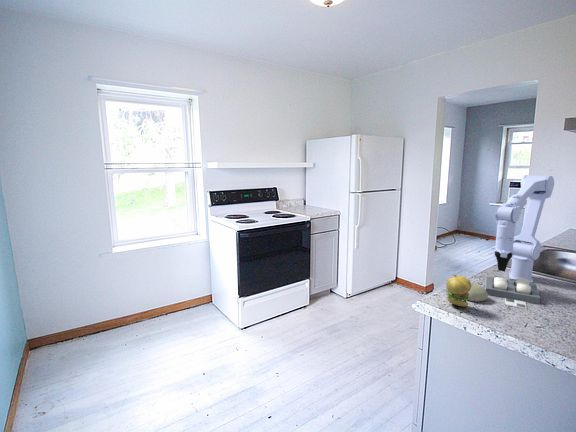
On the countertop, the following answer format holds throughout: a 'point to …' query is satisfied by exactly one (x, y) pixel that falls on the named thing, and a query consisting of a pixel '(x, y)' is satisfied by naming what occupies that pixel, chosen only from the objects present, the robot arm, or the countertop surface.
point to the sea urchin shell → (477, 293)
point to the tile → (515, 303)
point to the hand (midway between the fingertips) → (501, 270)
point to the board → (513, 291)
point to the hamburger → (458, 290)
